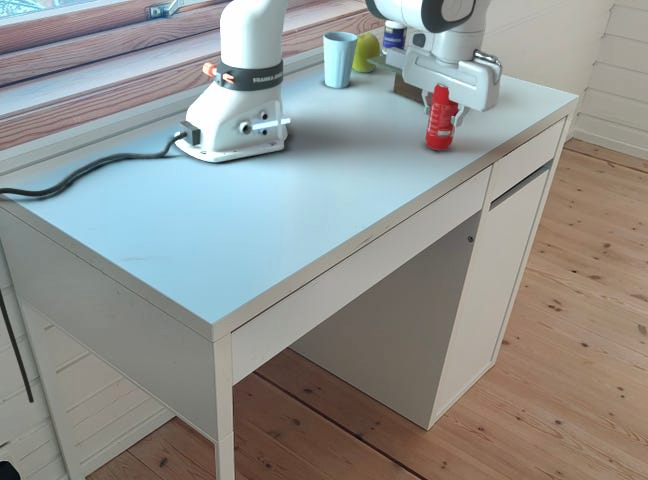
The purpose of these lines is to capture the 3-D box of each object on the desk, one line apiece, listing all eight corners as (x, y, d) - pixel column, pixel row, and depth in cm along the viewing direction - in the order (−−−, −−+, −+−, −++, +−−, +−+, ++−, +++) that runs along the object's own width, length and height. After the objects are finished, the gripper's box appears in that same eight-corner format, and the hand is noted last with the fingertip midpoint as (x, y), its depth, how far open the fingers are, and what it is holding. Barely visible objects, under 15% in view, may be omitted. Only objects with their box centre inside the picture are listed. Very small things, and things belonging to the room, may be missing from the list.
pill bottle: (379, 54, 177) (384, 13, 170) (384, 48, 181) (389, 7, 174) (401, 57, 175) (407, 15, 169) (405, 51, 179) (411, 10, 173)
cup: (360, 86, 158) (364, 38, 151) (334, 91, 155) (337, 43, 148) (340, 76, 163) (343, 29, 156) (314, 81, 160) (317, 34, 153)
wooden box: (438, 110, 148) (444, 72, 143) (393, 92, 156) (397, 55, 151) (477, 97, 155) (485, 61, 150) (432, 80, 163) (438, 45, 158)
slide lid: (413, 80, 138) (416, 61, 136) (366, 61, 146) (368, 44, 143) (456, 67, 145) (460, 50, 142) (409, 51, 153) (412, 33, 150)
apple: (389, 65, 167) (385, 25, 159) (366, 81, 165) (361, 42, 157) (366, 57, 171) (361, 18, 164) (343, 72, 169) (337, 33, 161)
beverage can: (423, 149, 132) (434, 86, 124) (425, 138, 136) (436, 76, 128) (450, 152, 131) (463, 89, 123) (451, 142, 135) (464, 79, 127)
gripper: (515, 55, 117) (496, 134, 126) (425, 26, 128) (413, 100, 137) (493, 62, 113) (474, 142, 122) (402, 31, 125) (392, 106, 134)
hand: (442, 119), depth 130 cm, fingers closed on beverage can, 5 cm apart
